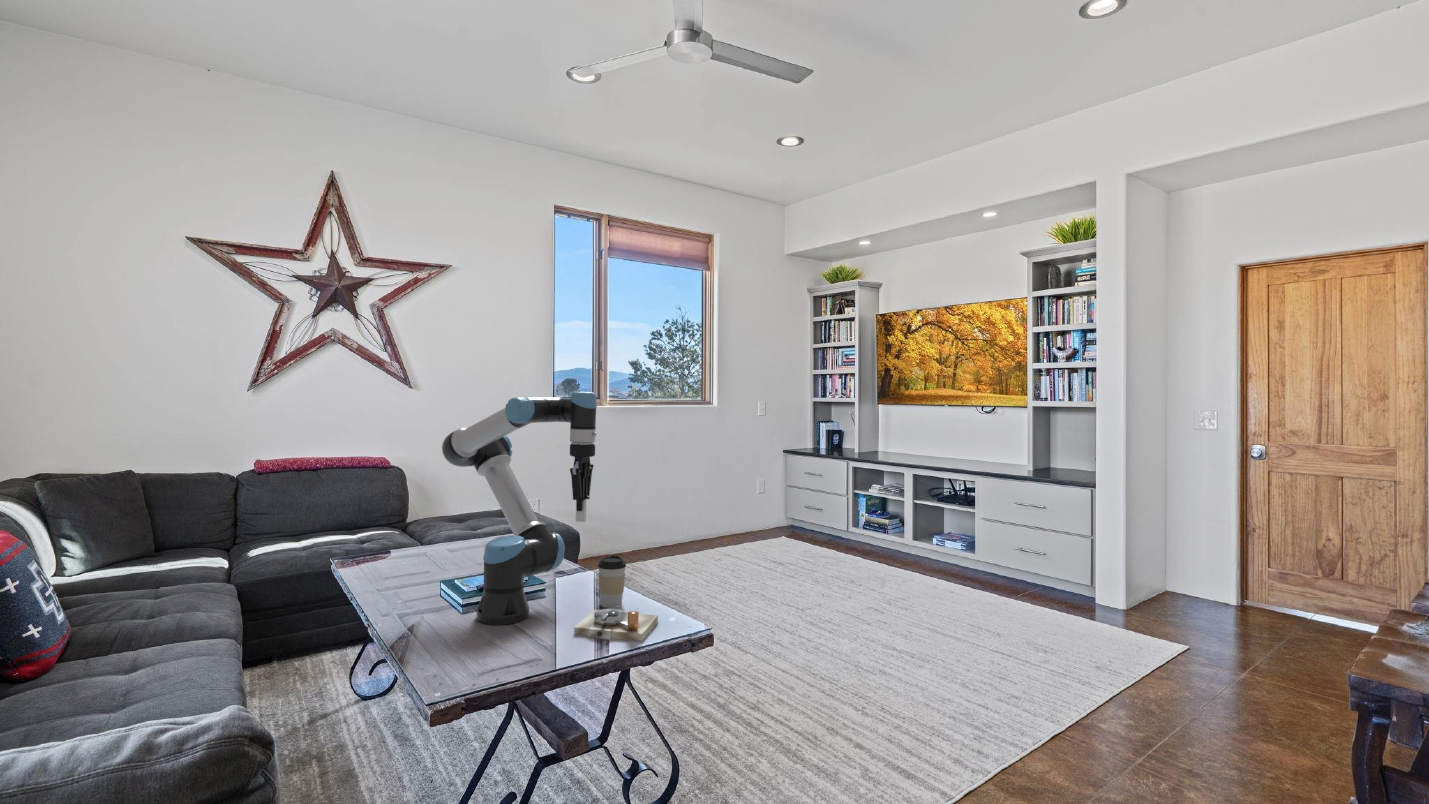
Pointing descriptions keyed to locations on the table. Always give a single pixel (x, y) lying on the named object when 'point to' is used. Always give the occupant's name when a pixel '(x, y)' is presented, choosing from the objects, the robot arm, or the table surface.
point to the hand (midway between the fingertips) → (580, 521)
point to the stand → (616, 628)
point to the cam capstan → (617, 618)
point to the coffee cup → (611, 581)
